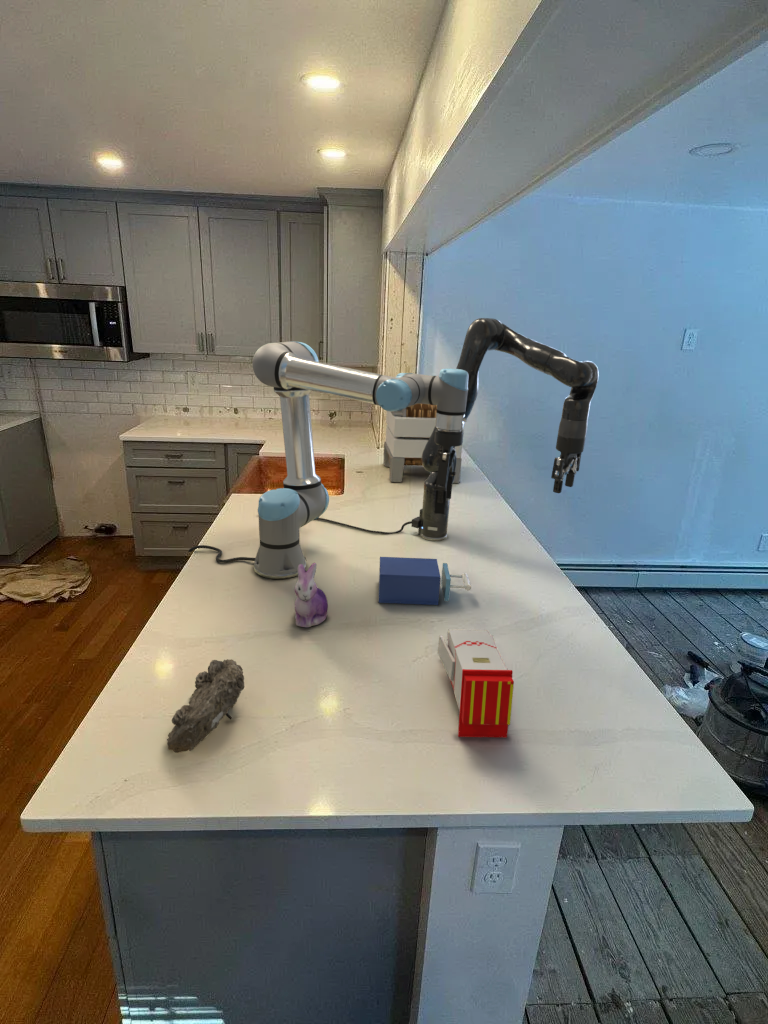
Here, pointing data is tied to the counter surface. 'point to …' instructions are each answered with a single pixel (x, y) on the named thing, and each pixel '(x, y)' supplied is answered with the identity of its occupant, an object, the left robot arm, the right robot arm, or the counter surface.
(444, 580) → the drawer
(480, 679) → the toy
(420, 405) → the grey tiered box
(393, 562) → the cabinet
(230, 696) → the fossil
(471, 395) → the right robot arm
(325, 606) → the figurine
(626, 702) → the counter surface
